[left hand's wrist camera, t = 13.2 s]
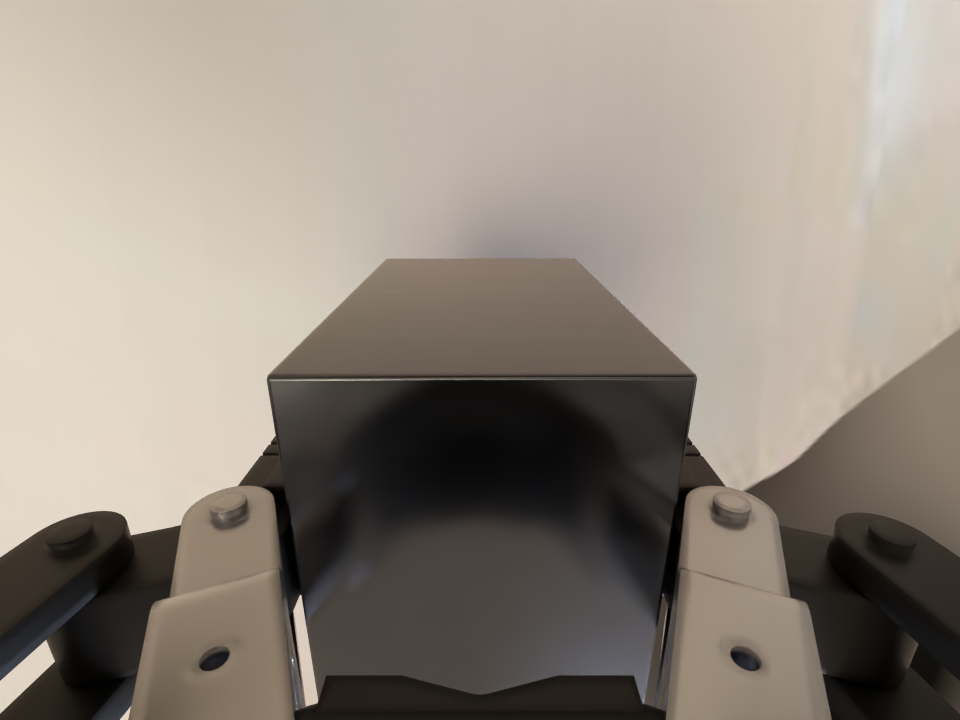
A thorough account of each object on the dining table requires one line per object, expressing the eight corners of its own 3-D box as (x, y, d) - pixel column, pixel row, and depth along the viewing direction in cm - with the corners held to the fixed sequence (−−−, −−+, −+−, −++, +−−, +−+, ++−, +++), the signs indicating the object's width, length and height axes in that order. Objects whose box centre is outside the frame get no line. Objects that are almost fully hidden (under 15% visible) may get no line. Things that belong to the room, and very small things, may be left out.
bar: (385, 258, 15) (263, 375, 7) (575, 258, 15) (700, 375, 7) (419, 769, 23) (384, 1117, 15) (543, 769, 23) (579, 1117, 15)
